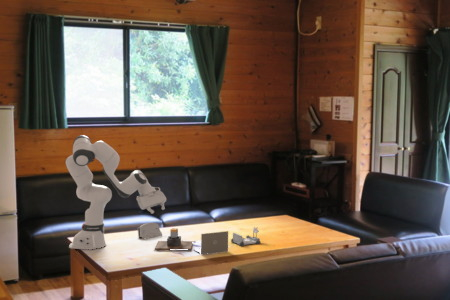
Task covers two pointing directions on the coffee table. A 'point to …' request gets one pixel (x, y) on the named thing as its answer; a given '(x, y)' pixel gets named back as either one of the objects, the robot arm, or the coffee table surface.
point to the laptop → (214, 242)
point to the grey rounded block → (149, 230)
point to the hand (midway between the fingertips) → (158, 211)
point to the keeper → (173, 244)
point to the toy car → (249, 240)
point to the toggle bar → (173, 233)
